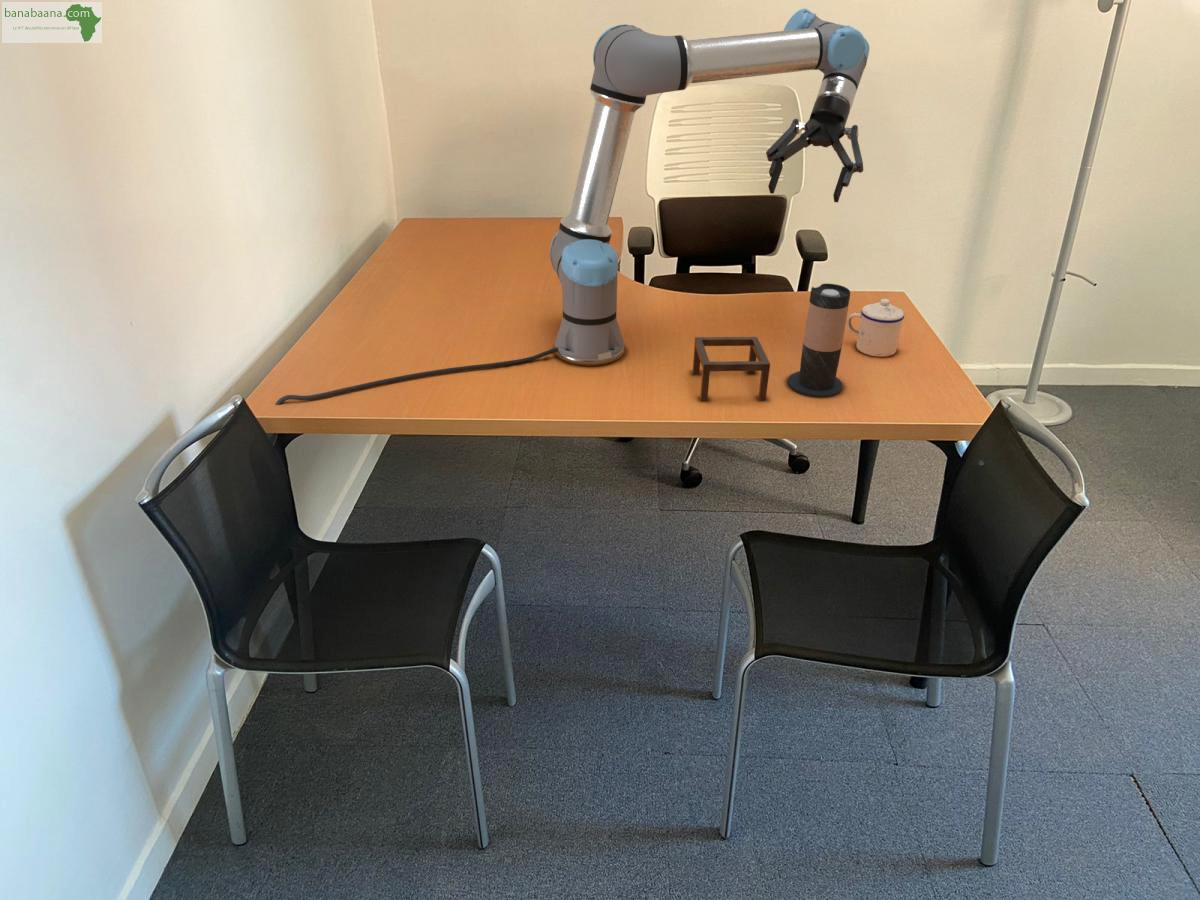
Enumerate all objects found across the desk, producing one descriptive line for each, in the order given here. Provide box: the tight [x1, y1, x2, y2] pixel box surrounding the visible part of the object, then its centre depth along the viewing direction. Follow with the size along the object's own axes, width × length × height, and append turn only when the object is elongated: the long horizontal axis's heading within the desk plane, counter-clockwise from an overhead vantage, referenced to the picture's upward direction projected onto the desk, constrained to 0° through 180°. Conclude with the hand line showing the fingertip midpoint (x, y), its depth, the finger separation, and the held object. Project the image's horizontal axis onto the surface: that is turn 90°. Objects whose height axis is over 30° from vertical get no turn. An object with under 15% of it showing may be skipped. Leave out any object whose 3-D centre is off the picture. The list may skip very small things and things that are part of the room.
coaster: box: [787, 371, 843, 398], centre depth 178 cm, size 11×11×1 cm
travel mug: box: [799, 283, 851, 390], centre depth 173 cm, size 8×8×20 cm
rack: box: [692, 336, 771, 402], centre depth 176 cm, size 13×13×8 cm
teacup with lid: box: [846, 298, 905, 358], centre depth 192 cm, size 12×9×12 cm
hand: (802, 194), depth 178 cm, fingers open, 13 cm apart
